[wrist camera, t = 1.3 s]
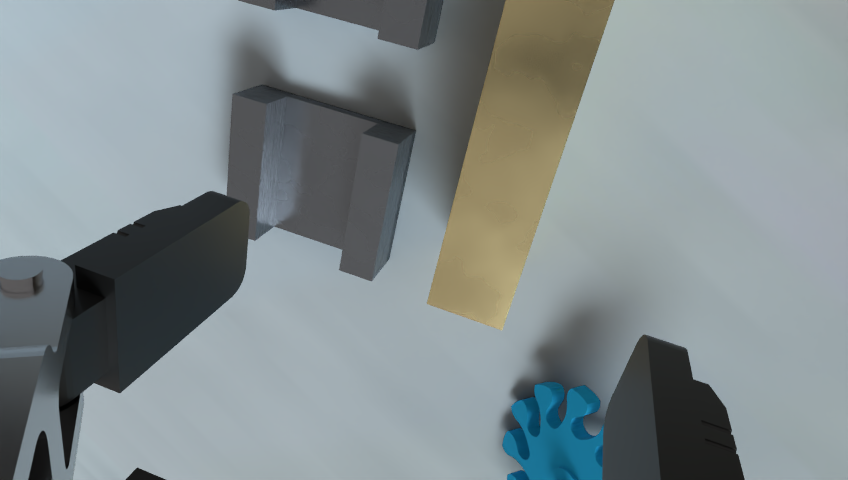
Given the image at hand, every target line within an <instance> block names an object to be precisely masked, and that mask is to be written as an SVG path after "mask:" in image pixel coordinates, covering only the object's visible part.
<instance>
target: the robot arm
mask: <svg viewBox="0 0 848 480" xmlns="http://www.w3.org/2000/svg"><path fill="white" fill-rule="evenodd" d="M249 219H250V210H249V206H248V204H247V203H246V202H244V201H241V200H238V199H235V198H232V197H229V196H226V195H223V194H220V193H217V192H213V191H209V192H207V193H205V194H203V195H201V196H199V197H197V198H196V199H194V200H192V201H190V202H188V203H186V204H185V205H183V206H181V205H179V206H175V207H171V208H166V209H162V210H158V211H154V212H152V213H150V214H148V215H146V216H144V217H142V218H140V219H139V220H137V221H135V222H134V224H133V225H132V224H129V225H127V226H125V227H123V228H122V229H120V230H118V232H117V234H116V233H112V234H110V235H108V236H106V237H104V238H103V239H101V240H99V241H97V242H95V243H93V244H91V245H89V246H87V247H86V248H84V249H82V250H80V251H78V252H76V253H74V254H72V255H70V256H68V257H67V258H65V259H63V260H61V261H60V260H57V259H54V258H49V257H43V256H18V257H10V258H5V259H1V260H0V480H73V474H74V468H75V461H76V454H77V448H78V441H79V434H80V428H81V421H82V414H83V408H84V396H83V391H84V390H86V389H87V388H88V387H89V386H91V385H92V384H93V383H96V384H98V385H101V386H103V387H106V388H108V389H111V390H113V391H115V392H118V393H121V392H122V391H123V390H124V389H125V388H127V387H128V386H129V385H130V384H131V383H132V382H134V381H135V380H136V379H137V378H138V377H139V376H141V375H142V374H143V373H144V372H145V371H146V370H148V369H149V368H150V367H151V366H152V365H153V364H155V363H156V362H157V361H158V360H159V359H160V358H161V357H163V356H164V355H165V354H166V353H167V352H168V351H170V350H171V349H172V348H173V347H174V346H175V345H177V344H178V343H179V342H180V341H181V340H182V339H184V338H185V337H186V336H187V335H188V334H189V333H191V332H192V331H193V330H194V329H195V328H196V327H198V326H199V325H200V324H201V323H202V322H203V321H204V320H206V319H207V318H208V317H209V316H210V315H211V314H213V313H214V312H215V311H216V310H217V309H218V308H220V307H221V306H222V305H223V304H224V303H225V302H227V301H228V300H229V299H230V298H231V297H232V296H233V295H234V294H235V293H236V292H237V290H238V289H239V287H240V285H241V283H242V280H243V278H244V274H245V270H246V259H247V246H248V232H249ZM731 432H732V429H731V425H730V421H729V418H728V414H727V410H726V407H725V406H724V405H723V403H722V402H721V401H720V399H719V398H718V396H717V395H716V394H715V392H714V391H713V390H712V388H711V387H710V386H709V385H708V384H705V383H702V382H699V381H696V380H693V377H692V371H691V366H690V361H689V356H688V352H687V349H686V348H684V347H681V346H678V345H675V344H672V343H669V342H666V341H663V340H660V339H657V338H654V337H651V336H648V335H643V336H642V337H641V338H640V339H639V341H638V342H637V344H636V346H635V348H634V351H633V353H632V355H631V357H630V359H629V361H628V363H627V366H626V368H625V370H624V372H623V374H622V376H621V378H620V381H619V383H618V385H617V387H616V389H615V391H614V393H613V395H612V398H611V400H610V403H609V406H608V409H607V412H606V416H605V421H604V428H603V468H602V480H745V479H744V475H743V471H742V468H741V464H740V460H739V456H738V454H736V450H737V448H736V445H735V441H734V437H733V435H731ZM126 480H165V479H163V478H161V477H158V476H156V475H153V474H151V473H149V472H146V471H144V470H142V469H139V468H136V469H135V470H134V471H133V472H132V474H131V475H130V476H129V477H128V478H127V479H126Z"/></svg>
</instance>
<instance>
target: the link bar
mask: <svg viewBox="0 0 848 480" xmlns="http://www.w3.org/2000/svg"><path fill="white" fill-rule="evenodd" d="M613 3H614V0H506V1H505V5H504V9H503V13H502V16H501V20H500V24H499V28H498V32H497V36H496V39H495V43H494V47H493V51H492V55H491V59H490V63H489V66H488V70H487V74H486V78H485V82H484V86H483V89H482V93H481V97H480V101H479V105H478V109H477V113H476V116H475V120H474V124H473V128H472V132H471V136H470V140H469V143H468V147H467V151H466V155H465V159H464V163H463V166H462V170H461V174H460V178H459V182H458V186H457V190H456V193H455V197H454V201H453V205H452V209H451V213H450V216H449V220H448V224H447V228H446V232H445V236H444V240H443V243H442V247H441V251H440V255H439V259H438V263H437V266H436V270H435V274H434V278H433V282H432V286H431V290H430V293H429V297H428V301H427V304H429V305H432V306H435V307H437V308H440V309H443V310H446V311H449V312H451V313H454V314H457V315H460V316H463V317H466V318H468V319H471V320H474V321H477V322H480V323H483V324H485V325H488V326H491V327H494V328H497V329H500V330H502V329H503V326H504V323H505V320H506V317H507V314H508V311H509V308H510V305H511V303H512V300H513V297H514V294H515V291H516V288H517V285H518V282H519V279H520V276H521V273H522V270H523V267H524V264H525V261H526V259H527V256H528V253H529V250H530V247H531V244H532V241H533V238H534V235H535V232H536V229H537V226H538V223H539V220H540V217H541V215H542V212H543V209H544V206H545V203H546V200H547V197H548V194H549V191H550V188H551V185H552V182H553V179H554V176H555V173H556V170H557V168H558V165H559V162H560V159H561V156H562V153H563V150H564V147H565V144H566V141H567V138H568V135H569V132H570V129H571V126H572V124H573V121H574V118H575V115H576V112H577V109H578V106H579V103H580V100H581V97H582V94H583V91H584V88H585V85H586V82H587V79H588V77H589V74H590V71H591V68H592V65H593V62H594V59H595V56H596V53H597V50H598V47H599V44H600V41H601V38H602V35H603V33H604V30H605V27H606V24H607V21H608V18H609V15H610V12H611V9H612V6H613Z"/></svg>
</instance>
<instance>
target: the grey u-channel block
mask: <svg viewBox="0 0 848 480" xmlns="http://www.w3.org/2000/svg"><path fill="white" fill-rule="evenodd" d="M239 1H242V2H246V3H250V4H253V5H257V6H261V7H264V8H268V9H272V10H282V9H291V8H299V9H302V10H306V11H310V12H313V13H317V14H321V15H325V16H328V17H332V18H336V19H339V20H343V21H347V22H350V23H354V24H358V25H361V26H365V27H369V28H372V29H376V30H379V34H378V39H381V40H384V41H388V42H392V43H395V44H399V45H403V46H406V47H410V48H414V49H417V50H418V49H420V48H423V47H425V46H428V45H430V44H433V43H434V42H435V38H436V33H437V28H438V23H439V19H440V14H441V9H442V4H443V0H239ZM415 133H416V131H415V130H412V129H408V128H405V127H402V126H398V125H395V124H392V123H388V122H385V121H382V120H378V119H375V118H372V117H368V116H365V115H362V114H358V113H355V112H352V111H348V110H345V109H342V108H338V107H335V106H331V105H328V104H325V103H321V102H318V101H315V100H311V99H308V98H305V97H301V96H298V95H295V94H291V93H288V92H285V91H281V90H278V89H275V88H271V87H268V86H265V85H259V86H256V87H253V88H250V89H247V90H244V91H241V92H238V93H234V94H233V98H232V115H231V133H230V150H229V167H228V184H227V196H229V197H232V198H235V199H238V200H241V201H244V202H246V203H247V204H248V206H249V210H250V219H249V232H248V238H249V239H252V240H254V241H255V240H256V239H258V238H259V237H261V236H262V235H263V234H265V233H266V232H267V231H269V230H270V229H271V228H273V227H274V226H275V227H278V228H281V229H284V230H286V231H289V232H292V233H295V234H298V235H301V236H304V237H307V238H310V239H313V240H316V241H319V242H322V243H325V244H327V245H330V246H333V247H336V248H339V249H342V250H343V251H342V257H341V263H340V269H339V270H341V271H343V272H346V273H349V274H352V275H355V276H358V277H361V278H364V279H366V280H369V281H372V280H373V279H374V278H375V276H376V275H377V274H378V273H379V271H380V270H381V269H382V267H383V266H384V265H385V264H386V262H387V261H388V260H389V257H390V252H391V248H392V243H393V238H394V233H395V228H396V224H397V219H398V214H399V209H400V205H401V200H402V195H403V190H404V186H405V181H406V176H407V171H408V166H409V162H410V157H411V152H412V147H413V143H414V138H415Z"/></svg>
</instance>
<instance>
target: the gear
mask: <svg viewBox="0 0 848 480" xmlns="http://www.w3.org/2000/svg"><path fill="white" fill-rule="evenodd" d="M534 393H535V397H536V399H535V397H531V398H527V399H523V400H519V401H517V402H515V403H514V404H513V405H512V406H511V408H512V413H513V415H514V417H515V419H516V420H517V421H518V422H519V424H520V425H521V427H522V429H523V430H522V429H521V428H517V429H514V430H510V431H507V433H506V434H505V436H504V440H503V445H502V446H503V449H504V450H505V452H506V453H507V454H508V455H510V456H512V457H513V458H515V459H516V460H517V461H518V462H519V463H520V465H521V466H522V467H523V469H524V470H525V472H524V471H522V470H520V471H517V472H514V473H511V474H508V475H507V480H602V468H603V428H604V425H603V427H602V429H601V431H600V432H599V434H598V435H597V436H592V435H590V434H588V432H587V431H586V430H585V428H584V424H583V418H584V416H585V415H588V414H592V413H595V412H597V411H598V410H599V408H600V400H599V398H598V397H597V396H596V395H595V393H594V392H593V391H591V390H590V389H589V388H588V387H586V386H585V385H583V386H579V387H575V388H571V389H570V390H569V391H568V394H567V411H566V416H565V418H564V420H563V422H561V420H560V418H559V415H558V408H559V406H560V405H561V403H562V402H563V400H564V397H565V392H564V388H563V386H562V385H561V384H559V383H556V382H544V383H540V384H536V385H535V388H534ZM539 409H540V416H541V425H539Z"/></svg>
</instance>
